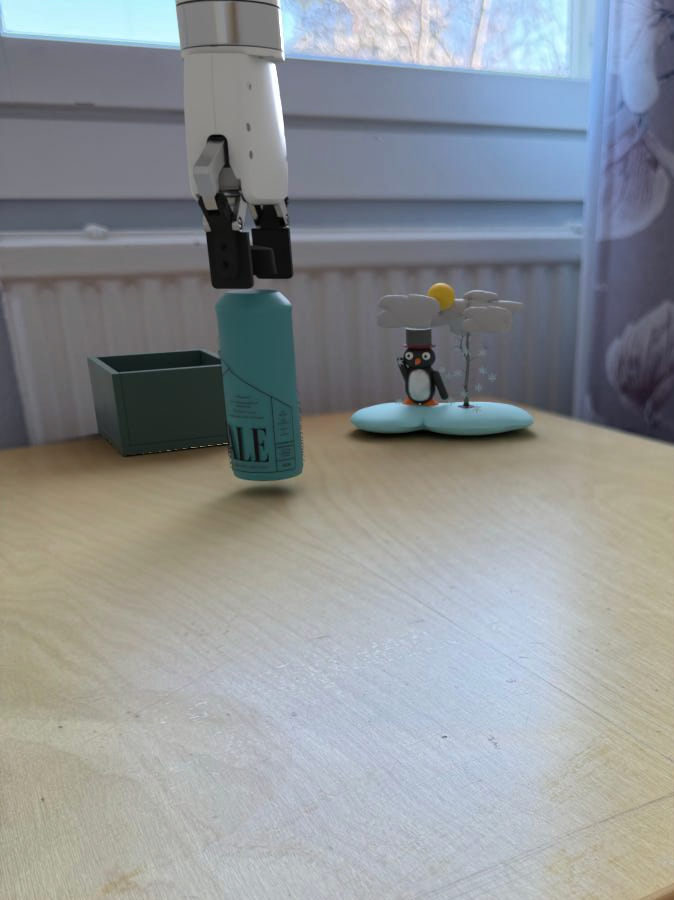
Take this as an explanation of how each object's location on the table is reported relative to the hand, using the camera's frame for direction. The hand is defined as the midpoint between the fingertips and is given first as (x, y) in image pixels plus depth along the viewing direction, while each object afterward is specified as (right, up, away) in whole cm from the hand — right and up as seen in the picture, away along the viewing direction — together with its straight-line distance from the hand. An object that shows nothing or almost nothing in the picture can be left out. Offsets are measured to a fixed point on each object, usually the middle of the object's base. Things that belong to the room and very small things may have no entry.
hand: (255, 283), depth 81 cm
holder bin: (-15, -7, +26) cm, 30 cm away
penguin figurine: (+14, -6, +29) cm, 33 cm away
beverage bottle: (0, -16, +7) cm, 17 cm away
